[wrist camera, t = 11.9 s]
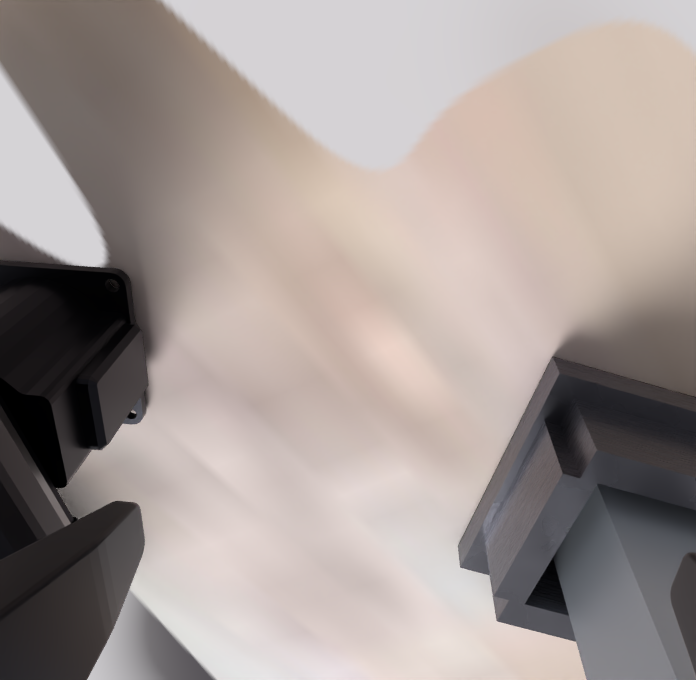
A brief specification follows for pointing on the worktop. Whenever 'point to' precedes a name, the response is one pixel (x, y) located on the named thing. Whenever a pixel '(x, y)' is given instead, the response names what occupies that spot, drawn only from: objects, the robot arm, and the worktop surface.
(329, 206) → the worktop surface
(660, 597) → the tall grey box
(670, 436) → the dark grey tray
